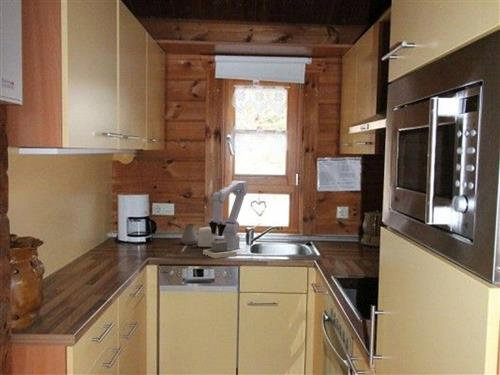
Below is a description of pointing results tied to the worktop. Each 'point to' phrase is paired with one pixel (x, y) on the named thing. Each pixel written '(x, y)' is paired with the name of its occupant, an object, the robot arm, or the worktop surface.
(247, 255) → the worktop surface
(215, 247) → the housing
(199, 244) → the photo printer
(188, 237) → the coffee pot
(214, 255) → the stand
